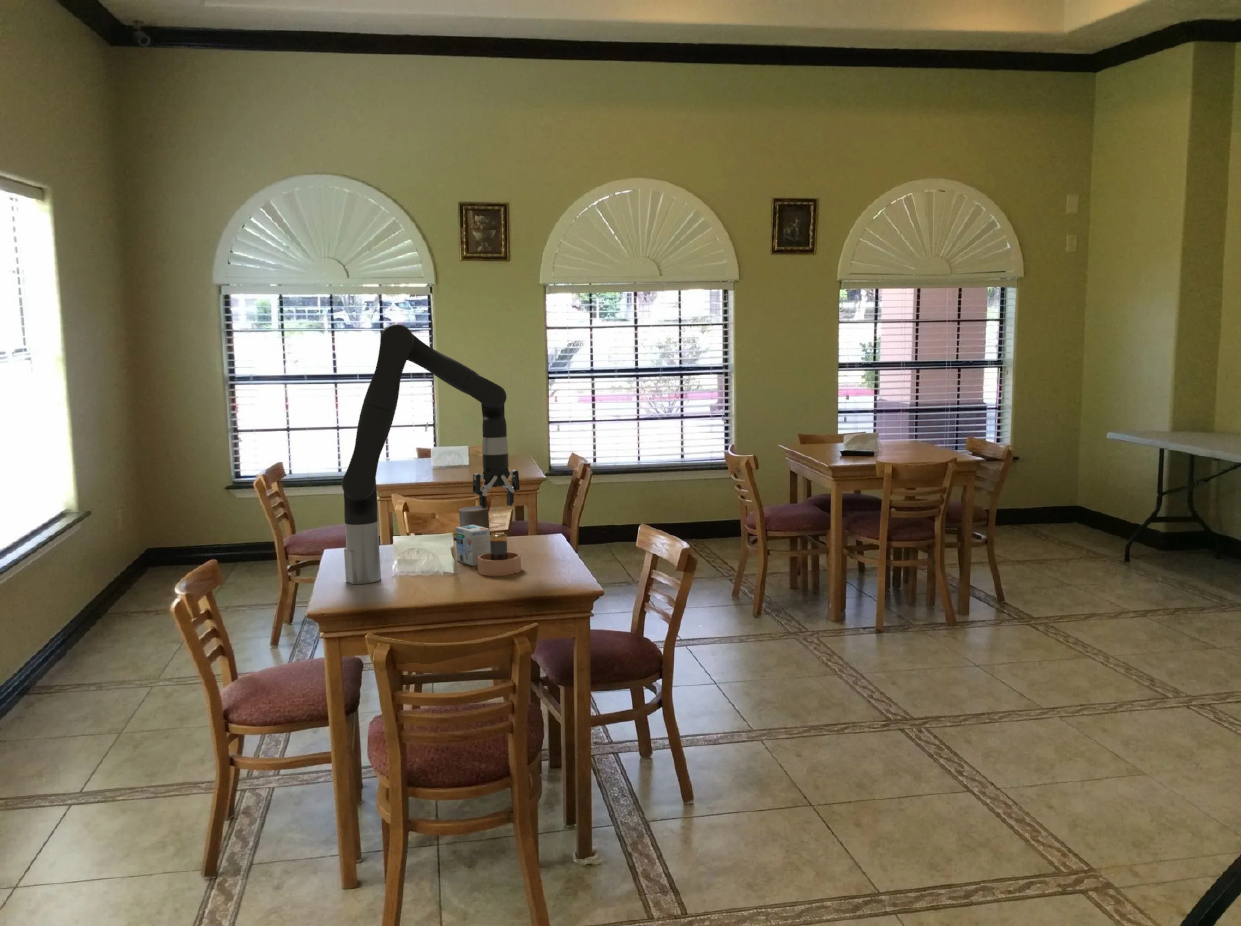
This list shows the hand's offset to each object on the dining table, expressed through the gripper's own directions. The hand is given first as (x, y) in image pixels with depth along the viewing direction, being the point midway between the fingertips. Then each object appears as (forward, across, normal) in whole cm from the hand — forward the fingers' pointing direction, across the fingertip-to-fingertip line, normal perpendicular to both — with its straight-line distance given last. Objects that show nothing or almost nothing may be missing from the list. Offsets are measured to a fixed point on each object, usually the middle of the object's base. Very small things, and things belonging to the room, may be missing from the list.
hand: (496, 506), depth 299 cm
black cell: (+18, 0, 0) cm, 19 cm away
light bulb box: (+20, 0, +17) cm, 26 cm away
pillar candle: (+20, +9, +34) cm, 40 cm away
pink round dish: (+19, 0, 0) cm, 19 cm away
